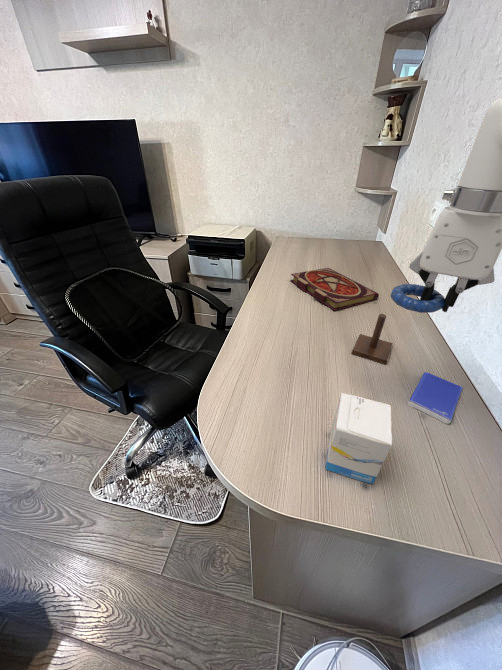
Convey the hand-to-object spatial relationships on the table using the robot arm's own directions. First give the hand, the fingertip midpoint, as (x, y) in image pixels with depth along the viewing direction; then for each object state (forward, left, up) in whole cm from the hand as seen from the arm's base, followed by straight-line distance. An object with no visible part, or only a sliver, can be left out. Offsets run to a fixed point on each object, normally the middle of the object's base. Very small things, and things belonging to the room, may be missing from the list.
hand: (434, 305), depth 53 cm
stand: (+9, -12, -23) cm, 27 cm away
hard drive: (-7, -1, -23) cm, 24 cm away
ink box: (+5, +23, -23) cm, 33 cm away
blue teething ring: (+3, 0, +1) cm, 3 cm away
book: (+31, -44, -23) cm, 59 cm away
